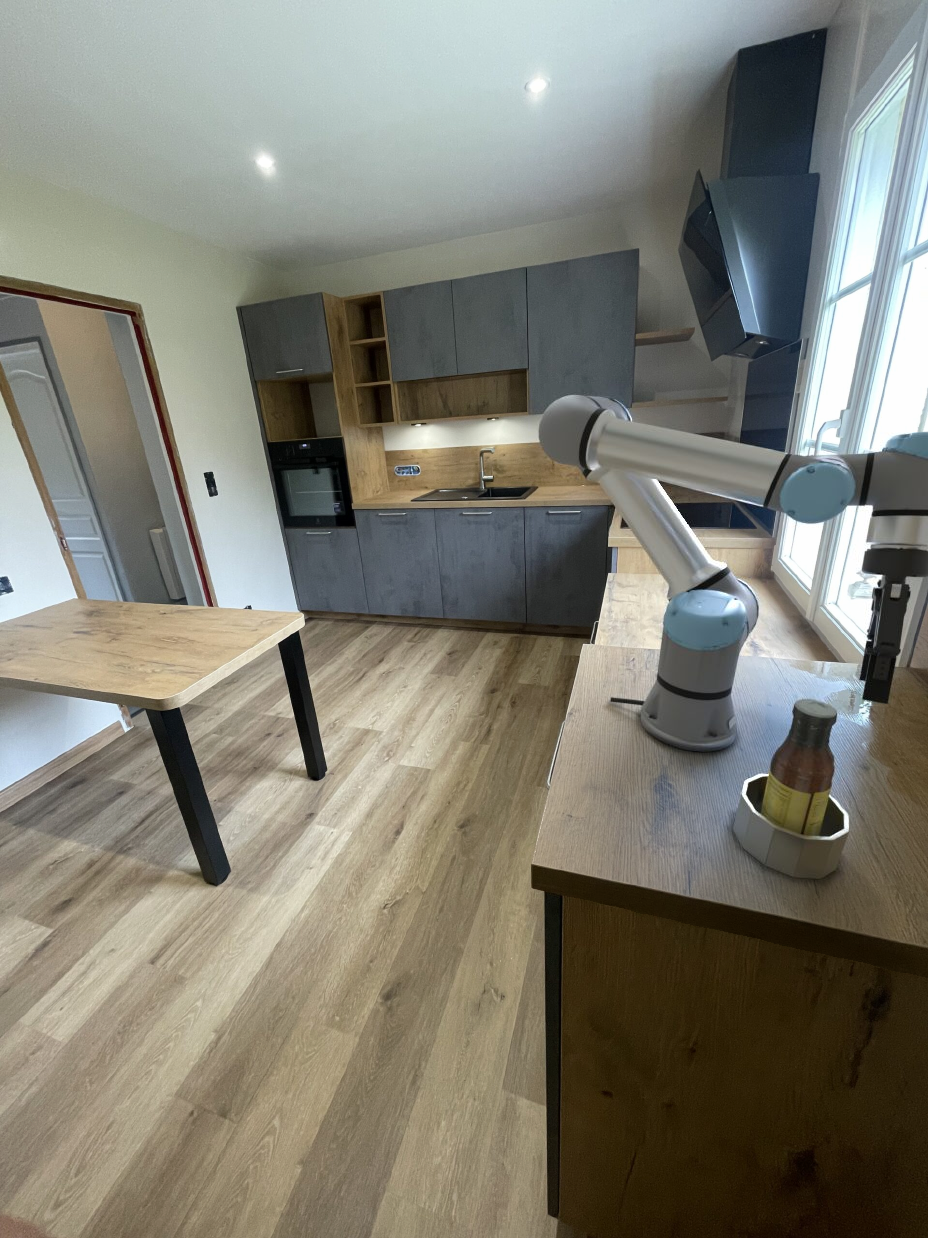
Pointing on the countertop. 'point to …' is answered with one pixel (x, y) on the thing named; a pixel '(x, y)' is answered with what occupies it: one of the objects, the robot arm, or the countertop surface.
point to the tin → (789, 836)
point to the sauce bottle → (802, 771)
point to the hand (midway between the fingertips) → (872, 691)
